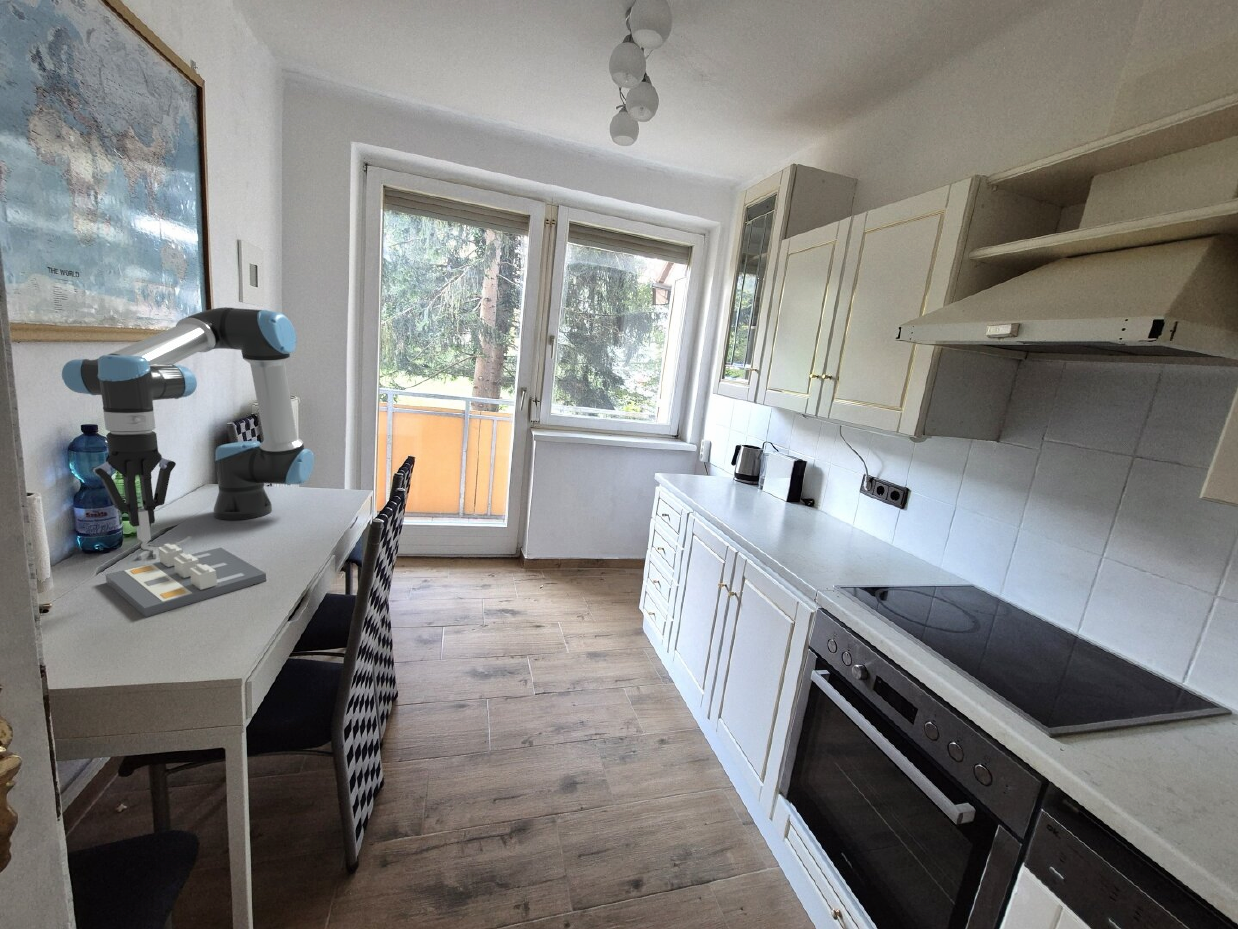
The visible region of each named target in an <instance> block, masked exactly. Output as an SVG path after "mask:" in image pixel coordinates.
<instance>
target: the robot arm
mask: <svg viewBox="0 0 1238 929" xmlns="http://www.w3.org/2000/svg"><path fill="white" fill-rule="evenodd" d="M296 343H297V335H296V331H295V328H294V325H293V324H292V322H291V320H290V319H288V317H287V316H286V315H285V314H283V313H281V312H278V311H271V310H267V309H256V308H255V309H253V308H250V309H249V308H238V307H237V308H236V307H217V308H211V309H207V310H203V311H200V312H197V313H194V314H191V315H189V316H186V317H183V318H182V319H179V321H177V322H176V325H175V326H173V327H171V328H168V329H167V330H164V331H162V332H159V333H156V334H153V335H152V336H149V337H146V338H145V339H143V340H140V341H139V340H138V342H135V343H132V344H130V345H127V346H125V347H124V348H121V349H119V350H115V351H114V352H110V353H109V354H107V355H105V354H104V355H103V354H102V355H101V356H99V357H98V358H96V359H89V358H83V359H81V358H80V359H78V358H77V359H71V360H69V361H67V362H66V363H65V364H64V365H63V367H62V370H61V379H62V380H63V383H64V384H65V386H66V388H68V389H69V390H70V391H72V392H74V393H77V394H83V395H84V394H85V395H90V396H101V400H102V401H101V402H102V411H103V418H104V428H105V430H106V431H108V432H107V434H106V442H107V443H106V444H107V451H108V455H107V456H106V459H105V461H106V462H104V463H102V464H101V465H99V466H94V467H92V469H91V471H92V472H93V473H94V474H95V475H96V476H98V477H99V478H100V480H101V482H102V484H103V486H104V488H105V490H106V492H107V494H108V496H109V498H110V500H111V502H112V504H113V506H114V508H115V509H117V510H118V511H120V512H127V515H128V516H127V517H128V523H129V525H130V526H132V527H135V528H136V537H137V538H136V539H138V540H139V541H141V542H143V541H147V540H152V536H151V527H150V525H151V524H154V523H155V521H156V519H155V510H156V508H157V507H159V506H163V505H165V504H166V502H165V501H166V497H167V491H168V488H169V482H170V478H171V473H172V471H173V469H174V468H175V466H176V465H177V464H176V461H174V460H172V459H166V458H163V456H162V454H161V453H160V452H159V446H158V438H157V437H158V436H157V433H156V432H155V431H154V430H155V429H156V420H155V412H154V401H159V400H172V399H174V400H178V399H181V398H186V397H189V396H191V395H192V394H194V393H195V391H196V390H197V387H198V385H197V384H198V382H197V377H196V375H195V374H194V373H193V371H192V370H190V369H189V368H188V367H186V366H184V365H179V364H178V362H181V361H183V360H184V359H187V358H189V357H190V356H193V355H195V354H196V353H208V352H209V351H212V350H217V349H218V350H220V349H222V350H223V349H225V350H226V349H227V350H235V351H236V350H238V351H241V356H242V359H243V360H244V361H245V362H247V363H249V364H250V370H251V375H252V381H253V386H254V391H255V398H256V402H257V403H256V404H257V408H258V412H259V419H260V423H261V424H260V425H261V431H262V434H263V441H262V442H260V441H259V440H258V441H257V440H245V441H238V442H231V443H225V444H221V445H218V446H217V447H216V449H215V459H214V461H215V466H216V473H217V474H216V475H217V486H218V494H217V498H216V500H215V504H214V507H213V516H214V518H216V519H218V520H225V521H226V520H227V521H240V520H247V519H248V520H249V519H256V518H259V517H264V516H266V515H268V514H270V513H271V512H272V511H273V510H272V509H273V507H272V502H271V499H270V498H269V496H268V494H267V492H266V489H265V486H264V484H269V485H270V484H272V485H286V486H291V485H297V486H298V485H302V484H304V483H306V482H307V481H309V478H310V476H311V475H312V473H313V469H314V465H315V455H314V453H313V451H312V450H311V449H309V448H305V445H304V441H303V440H302V439H301V438H299V437H298V435H297V430H296V429H297V428H296V425H295V417H294V411H293V405H292V398H291V392H290V386H289V380H288V379H289V378H288V373H287V368H286V366H287V365H286V362H287V361H288V360H289V359H290V358H291V356H290V354H291V353H293V352H294V351H295V350H296V347H297V345H296ZM177 364H178V365H177ZM158 464H159V465H158ZM157 466H158V467H159V471H158V475H157V480H156V486H155V490H154V492H153V484H152V478H153V477H152V472H153V471H154V470H155V468H156V467H157ZM111 468H112V469H113V470H115V471H116V472H117V473H119V474H120V475H121V477H122V478H121V479H122V481H123V488H124V496H125V498H124V499H125V501H124V499H123V497H122V495H121V493H120V491H119V489H118V488H117V485H116V484H115V481H114V478H113V477H112V476H111V473H112V470H111ZM136 476H138V479H139V486H140V492H141V494H140V495H141V502H142V508H139V505H138V503H139V502H138V496H137V495H138V494H137V488H136V487H137V486H136V485H137V484H136V480H137V478H136Z"/></svg>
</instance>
